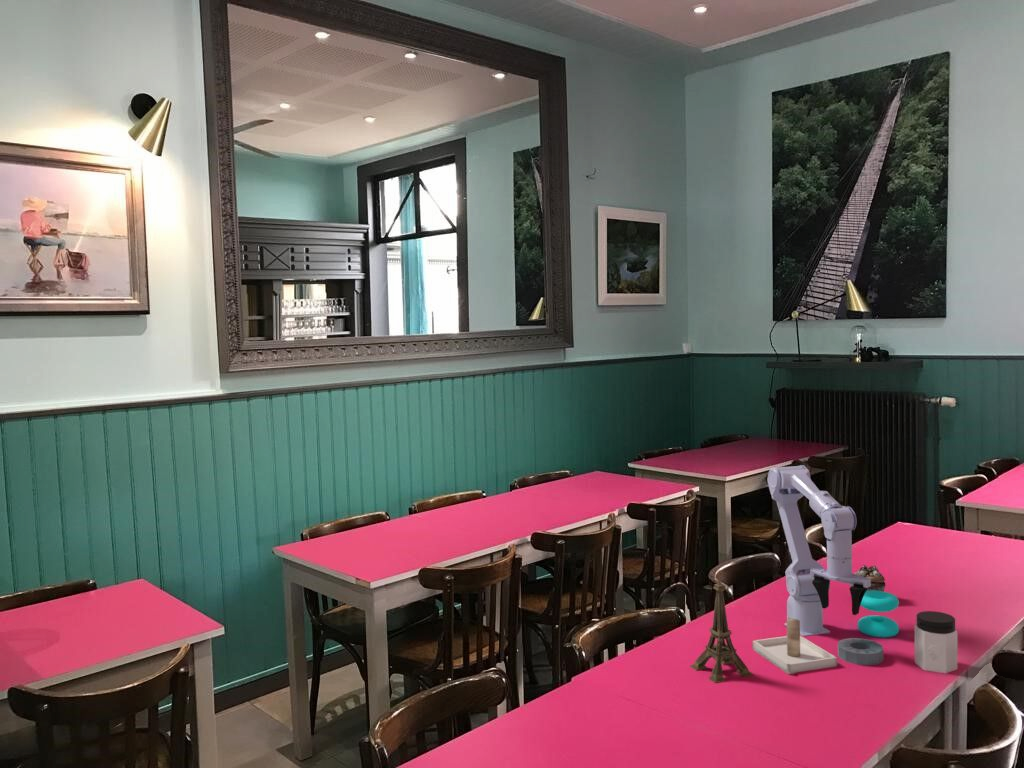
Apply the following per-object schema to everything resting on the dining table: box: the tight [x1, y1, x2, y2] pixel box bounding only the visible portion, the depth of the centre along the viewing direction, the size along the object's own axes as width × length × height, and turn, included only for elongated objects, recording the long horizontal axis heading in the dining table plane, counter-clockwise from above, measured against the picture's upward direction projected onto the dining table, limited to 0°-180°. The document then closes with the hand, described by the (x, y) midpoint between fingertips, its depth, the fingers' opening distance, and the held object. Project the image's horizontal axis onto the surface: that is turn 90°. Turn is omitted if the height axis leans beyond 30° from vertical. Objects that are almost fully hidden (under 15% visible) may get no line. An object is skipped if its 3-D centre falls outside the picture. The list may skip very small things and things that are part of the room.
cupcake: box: [849, 564, 887, 592], centre depth 244 cm, size 10×10×10 cm
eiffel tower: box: [689, 571, 754, 684], centre depth 197 cm, size 11×11×25 cm
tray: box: [752, 635, 838, 675], centre depth 203 cm, size 16×13×2 cm
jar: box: [914, 610, 958, 674], centre depth 195 cm, size 9×8×12 cm
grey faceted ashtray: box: [837, 637, 884, 666], centre depth 202 cm, size 10×10×3 cm
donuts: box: [857, 590, 900, 638], centre depth 218 cm, size 10×10×10 cm
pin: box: [786, 618, 801, 657], centre depth 203 cm, size 3×3×8 cm
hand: (840, 610), depth 206 cm, fingers open, 7 cm apart
